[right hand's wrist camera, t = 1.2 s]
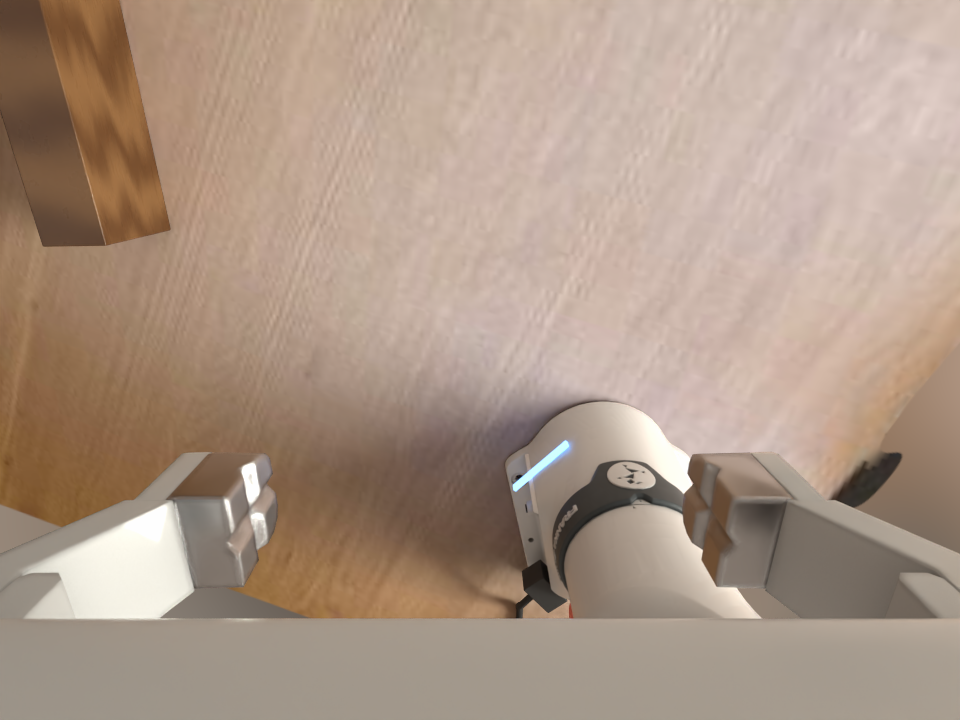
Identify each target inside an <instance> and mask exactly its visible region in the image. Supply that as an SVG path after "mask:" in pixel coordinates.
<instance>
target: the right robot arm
mask: <svg viewBox="0 0 960 720" xmlns="http://www.w3.org/2000/svg"><path fill="white" fill-rule="evenodd" d="M505 469H506V473H507V478H508V482H509V487H510V491H511V495H512V500H513V504H514V509H515V513H516V517H517V522H518V526H519V531H520V535H521V539H522V544H523V548H524V553H525V557H526V561H527V565H528V568H526V569H525V570H523V571H522V577H523V587H524V591H525V592H526V593H527V594H528V595H527V596H526V597H525V598H524V599H523V600H521V601H520V602H518V603H517V604H516V609H517V616H516V619H345V618H307V619H303V618H301V619H300V618H299V619H298V618H296V619H295V618H293V619H292V618H282V619H281V618H279V619H278V618H277V619H275V618H274V619H273V618H268V619H267V618H263V619H262V618H260V619H259V618H160V617H161V616H162V615H164V614H165V613H166V612H168V611H169V610H170V609H172V608H173V607H174V606H175V605H177V604H178V603H179V602H181V601H182V600H183V599H185V598H186V597H187V596H188V595H190V594H191V593H192V592H194V588H227V587H244V585H245V583H246V582H247V580H248V578H249V576H250V575H251V573H252V571H253V569H254V567H255V566H256V564H257V562H258V560H259V559H258V553H257V550H258V549H260V548H261V547H263V546H264V545H266V544H267V543H268V542H269V540H270V539H271V537H272V535H273V533H274V530H275V525H276V521H277V516H278V503H277V497H276V493H275V492H274V491H273V490H272V489H271V488H270V487H269V486H268V485H267V484H266V483H267V482H268V480H269V479H270V477H271V476H272V474H273V472H272V467H271V462H270V458H269V457H268V456H267V455H266V454H265V453H217V452H215V453H212V452H189V453H183V454H181V455H180V456H179V457H178V458H177V459H176V460H175V461H174V462H173V463H172V464H171V465H170V466H169V467H168V468H167V469H166V470H165V471H164V472H162V473H161V474H160V475H159V476H158V477H157V478H156V479H155V480H154V481H153V482H152V483H151V484H150V485H149V486H148V487H147V488H146V489H145V490H144V491H143V492H142V493H141V494H140V495H139V496H138V497H136V498H135V499H134V500H124V501H122V502H120V503H117V504H115V505H113V506H110V507H108V508H106V509H103V510H101V511H99V512H96V513H94V514H92V515H90V516H87V517H85V518H83V519H80V520H78V521H76V522H73V523H71V524H69V525H66V526H64V527H62V528H59V529H57V530H55V531H52V532H50V533H48V534H45V535H43V536H41V537H38V538H36V539H34V540H31V541H29V542H27V543H24V544H22V545H20V546H17V547H15V548H13V549H10V550H8V551H6V552H4V553H1V554H0V720H960V554H959V553H956V552H954V551H952V550H949V549H947V548H945V547H942V546H940V545H938V544H935V543H933V542H931V541H928V540H926V539H924V538H921V537H919V536H917V535H914V534H912V533H910V532H907V531H905V530H903V529H901V528H898V527H896V526H894V525H891V524H889V523H887V522H884V521H882V520H880V519H877V518H875V517H873V516H870V515H868V514H866V513H863V512H861V511H859V510H856V509H854V508H852V507H850V506H847V505H845V504H843V503H840V502H838V501H836V500H826V499H825V498H824V497H822V496H821V495H820V494H819V493H818V492H817V491H816V490H815V489H814V488H813V487H812V486H811V485H810V484H809V483H808V482H807V481H806V480H805V479H804V478H803V477H802V476H801V475H800V474H799V473H798V472H797V471H796V470H794V469H793V468H792V467H791V466H790V465H789V464H788V463H787V462H786V461H785V460H784V459H783V458H782V457H781V456H780V455H779V454H776V453H774V452H755V453H714V454H693V455H692V457H691V459H690V458H689V457H688V455H687V454H686V453H685V452H683V451H682V450H681V449H679V448H677V447H676V446H674V445H672V444H670V443H669V441H668V440H667V439H666V438H665V436H664V434H663V433H662V431H661V430H660V428H659V427H658V425H657V424H656V423H655V422H654V421H653V420H652V419H651V418H650V417H649V416H647V415H646V414H645V413H643V412H642V411H640V410H638V409H636V408H634V407H631V406H629V405H625V404H621V403H616V402H606V401H601V402H590V403H585V404H581V405H578V406H575V407H572V408H570V409H568V410H565V411H564V412H562V413H560V414H558V415H557V416H555V417H554V418H553V419H551V420H550V421H549V422H548V423H547V424H546V425H545V426H544V427H543V428H542V429H541V430H540V431H539V433H538V434H537V435H536V437H535V438H534V439H533V440H532V441H531V443H530V444H528V445H527V446H525V447H524V448H522V449H520V450H518V451H517V452H515V453H514V454H512V455H511V456H510V457H509V458H508V459H507V460H506V462H505ZM517 475H522V477H521V478H517V477H516V476H517ZM689 477H690V479H691V480H692V482H693V483H694V484H693V485H692V483H691V481H690V479H689ZM737 588H766V591H767V592H768V593H769V594H770V595H772V596H773V597H774V598H776V599H777V600H778V601H780V602H781V603H782V604H783V605H785V606H786V607H787V608H789V609H790V610H791V611H792V612H794V613H795V614H796V615H798V616H799V617H800V618H789V619H788V618H784V619H783V618H780V619H778V618H768V619H767V618H765V619H764V618H763V619H762V618H761V617H760V616H759V615H758V614H757V613H756V612H755V611H754V610H753V609H752V608H751V606H750V605H749V604H748V603H747V602H746V601H745V599H744V598H743V597H742V595H741V594H740V592H739V591H738V589H737ZM533 599H534V600H535V601H536V602H537V603H538V604H539V605H540V606H541V607H542V608H543V609H544V610H545V611H546V612H548V613H549V612H551V611H552V610H554V609H556V608H557V607H559V606H560V605H562V604H564V603H565V602H567V599H568V600H570V605H569V618H570V619H522V616H523V608H524V607H525V606H526V605H527V604H528V603H529V602H530V601H531V600H533Z"/></svg>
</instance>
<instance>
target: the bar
mask: <svg viewBox="0 0 960 720" xmlns="http://www.w3.org/2000/svg"><path fill="white" fill-rule="evenodd" d="M0 111H1V115H2V118H3V121H4V124H5V127H6V130H7V134H8V137H9V140H10V143H11V146H12V150H13V153H14V156H15V159H16V162H17V165H18V169H19V172H20V175H21V178H22V181H23V185H24V188H25V191H26V194H27V197H28V200H29V204H30V207H31V210H32V213H33V216H34V220H35V223H36V226H37V229H38V232H39V235H40V239H41V242H42V245H43V246H44V247H49V246H106V245H110V244H114V243H119V242H123V241H127V240H131V239H135V238H139V237H144V236H148V235H152V234H156V233H160V232H164V231H169V230H170V225H169V220H168V216H167V211H166V207H165V202H164V198H163V193H162V189H161V185H160V180H159V176H158V171H157V167H156V162H155V158H154V153H153V149H152V144H151V140H150V136H149V131H148V127H147V122H146V118H145V113H144V109H143V104H142V100H141V95H140V91H139V87H138V82H137V78H136V73H135V69H134V64H133V60H132V55H131V51H130V46H129V42H128V38H127V33H126V29H125V24H124V20H123V15H122V11H121V6H120V2H119V0H0Z"/></svg>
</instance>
